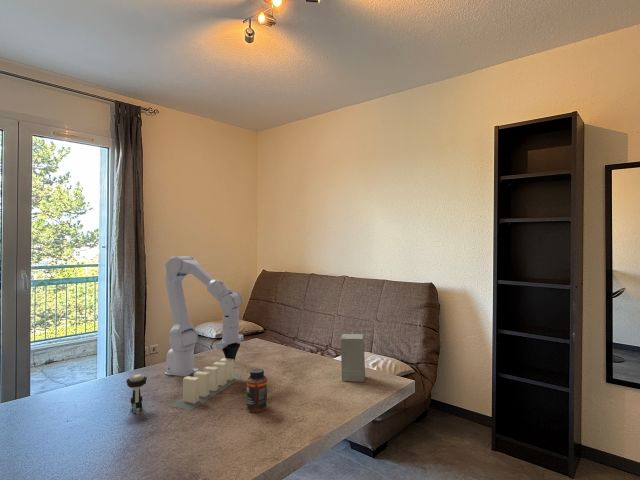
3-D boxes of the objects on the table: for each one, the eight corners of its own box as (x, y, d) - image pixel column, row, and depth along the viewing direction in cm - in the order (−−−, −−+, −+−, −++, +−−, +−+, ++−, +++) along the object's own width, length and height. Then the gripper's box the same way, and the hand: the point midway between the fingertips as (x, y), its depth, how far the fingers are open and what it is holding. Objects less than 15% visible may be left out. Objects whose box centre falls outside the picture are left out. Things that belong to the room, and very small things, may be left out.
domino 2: (193, 395, 116) (193, 373, 116) (197, 392, 117) (197, 371, 118) (205, 397, 114) (205, 374, 114) (209, 394, 116) (209, 372, 116)
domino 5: (220, 379, 130) (219, 360, 129) (224, 376, 132) (223, 357, 131) (231, 380, 128) (230, 361, 128) (234, 378, 130) (233, 359, 130)
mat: (168, 407, 108) (168, 406, 108) (226, 374, 136) (226, 373, 136) (191, 411, 105) (191, 410, 105) (244, 376, 133) (244, 375, 133)
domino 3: (203, 389, 120) (203, 368, 120) (207, 387, 122) (207, 366, 122) (214, 391, 119) (214, 369, 119) (218, 388, 121) (218, 367, 121)
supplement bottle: (270, 406, 109) (270, 368, 109) (261, 414, 103) (261, 374, 104) (253, 403, 111) (253, 365, 111) (242, 411, 105) (243, 372, 105)
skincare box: (365, 376, 134) (365, 333, 135) (364, 383, 127) (364, 338, 128) (342, 375, 136) (342, 332, 136) (340, 382, 129) (340, 337, 129)
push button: (148, 413, 104) (148, 378, 104) (126, 418, 101) (127, 381, 101) (145, 404, 109) (145, 371, 110) (125, 408, 107) (125, 374, 107)
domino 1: (182, 401, 111) (183, 378, 111) (187, 398, 113) (187, 376, 113) (194, 403, 109) (195, 380, 109) (199, 400, 111) (199, 377, 111)
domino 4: (212, 384, 125) (212, 363, 125) (215, 382, 127) (216, 361, 127) (223, 385, 124) (223, 364, 124) (226, 383, 125) (227, 363, 126)
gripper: (229, 331, 124) (228, 372, 123) (250, 323, 137) (250, 359, 137) (211, 330, 126) (211, 369, 126) (234, 322, 140) (233, 357, 139)
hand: (230, 364), depth 132 cm, fingers closed
